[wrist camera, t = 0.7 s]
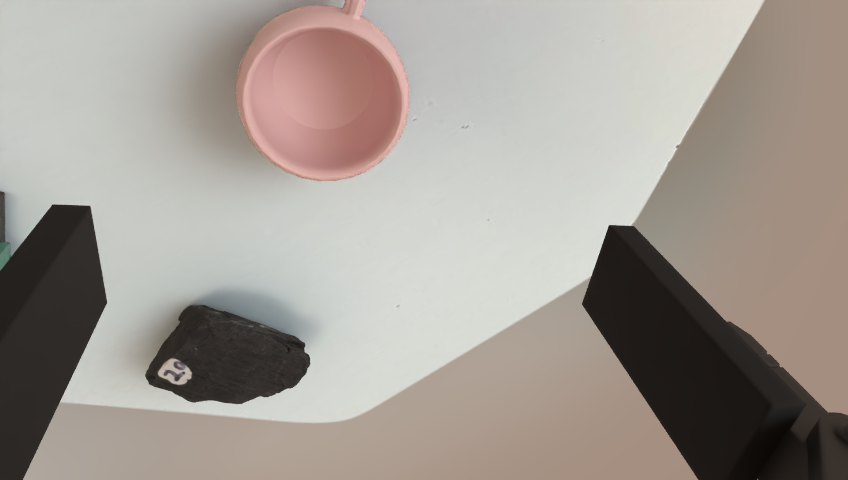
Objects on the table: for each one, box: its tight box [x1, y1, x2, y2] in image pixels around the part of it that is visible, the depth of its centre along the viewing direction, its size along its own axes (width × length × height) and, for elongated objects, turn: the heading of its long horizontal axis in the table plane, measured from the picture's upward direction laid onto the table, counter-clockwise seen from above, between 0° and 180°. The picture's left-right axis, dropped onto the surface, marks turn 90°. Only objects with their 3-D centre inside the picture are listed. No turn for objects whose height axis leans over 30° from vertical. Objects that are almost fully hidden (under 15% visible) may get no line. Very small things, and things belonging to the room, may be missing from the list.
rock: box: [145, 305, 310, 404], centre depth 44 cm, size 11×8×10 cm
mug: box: [236, 0, 410, 181], centre depth 34 cm, size 12×10×6 cm
